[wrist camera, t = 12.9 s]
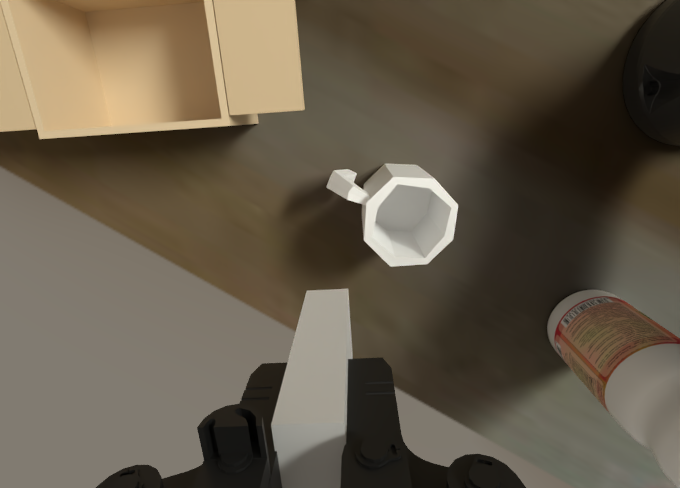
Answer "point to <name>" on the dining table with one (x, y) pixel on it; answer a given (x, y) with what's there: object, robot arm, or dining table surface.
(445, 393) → the dining table surface
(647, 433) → the fruit juice
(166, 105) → the carton
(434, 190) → the mug
